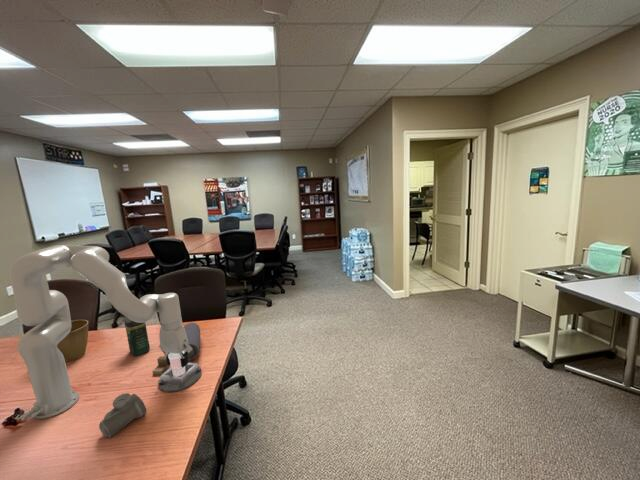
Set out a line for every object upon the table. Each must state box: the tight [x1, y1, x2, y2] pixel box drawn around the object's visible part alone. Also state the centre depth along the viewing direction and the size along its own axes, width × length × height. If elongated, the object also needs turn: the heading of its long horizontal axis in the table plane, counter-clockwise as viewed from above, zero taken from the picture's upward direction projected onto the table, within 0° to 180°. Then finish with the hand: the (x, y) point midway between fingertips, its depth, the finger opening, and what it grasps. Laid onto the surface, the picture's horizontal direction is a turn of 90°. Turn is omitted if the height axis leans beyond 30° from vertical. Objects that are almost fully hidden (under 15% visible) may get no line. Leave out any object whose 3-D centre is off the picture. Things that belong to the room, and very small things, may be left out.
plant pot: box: [57, 319, 89, 362], centre depth 135 cm, size 15×15×16 cm
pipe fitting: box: [98, 392, 148, 438], centre depth 93 cm, size 12×8×10 cm, turn 148°
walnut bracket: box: [152, 355, 171, 376], centre depth 121 cm, size 6×4×5 cm, turn 176°
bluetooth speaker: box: [183, 322, 202, 362], centre depth 136 cm, size 23×9×10 cm, turn 22°
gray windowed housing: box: [157, 362, 202, 393], centre depth 115 cm, size 16×16×4 cm
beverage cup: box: [168, 351, 185, 376], centre depth 114 cm, size 6×6×14 cm
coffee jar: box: [123, 317, 151, 357], centre depth 137 cm, size 10×8×19 cm
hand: (177, 364), depth 115 cm, fingers closed on beverage cup, 6 cm apart
